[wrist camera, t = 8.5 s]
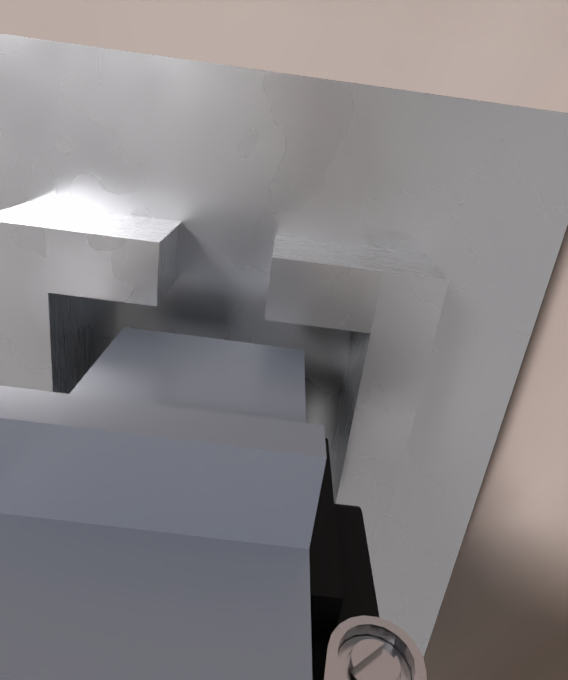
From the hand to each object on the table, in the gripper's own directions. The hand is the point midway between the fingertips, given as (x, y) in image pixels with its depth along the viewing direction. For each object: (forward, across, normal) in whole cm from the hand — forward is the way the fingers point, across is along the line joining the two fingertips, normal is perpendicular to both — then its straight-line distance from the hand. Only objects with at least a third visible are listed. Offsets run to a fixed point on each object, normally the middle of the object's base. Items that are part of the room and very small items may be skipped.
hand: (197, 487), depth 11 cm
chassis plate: (+3, 0, 0) cm, 3 cm away
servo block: (+1, 0, 0) cm, 1 cm away
